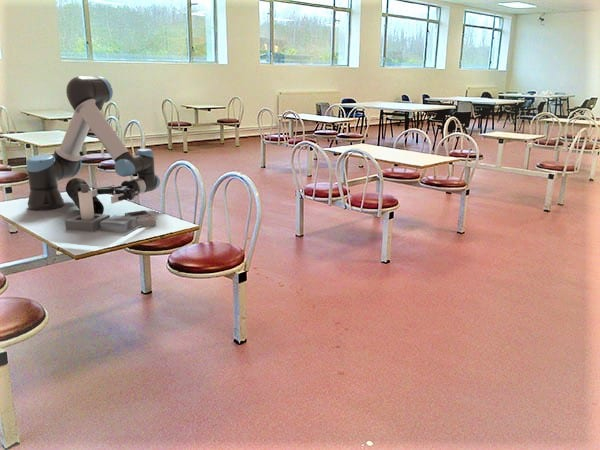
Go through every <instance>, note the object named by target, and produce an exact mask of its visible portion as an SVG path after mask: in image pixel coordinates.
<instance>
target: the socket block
mask: <svg viewBox="0 0 600 450" xmlns="http://www.w3.org/2000/svg"><path fill="white" fill-rule="evenodd" d="M109 217H111V214H104V213H103V214H94V218H95V219H93V220H91V221H87V220H81V214H80V213H79V214H77V215H75V216H72V217H70V218H67V219H65V220H64V224H65V229H66V230H70V231H82V232H83V231H84V232H91V233H93V232H96V231H98V230H101V226H100V222H101V221H103V220H105V219H107V218H109Z"/></svg>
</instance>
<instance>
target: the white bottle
mask: <svg viewBox="0 0 600 450" xmlns="http://www.w3.org/2000/svg"><path fill="white" fill-rule="evenodd" d="M88 185H89V184H88V183H87V184H81V191H80V192H78V196H79V205H80V210H79V212H80V213H79V214H81V220H87V221H91V220H93V219H95V218H94V208H93V198H92V191H88Z"/></svg>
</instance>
